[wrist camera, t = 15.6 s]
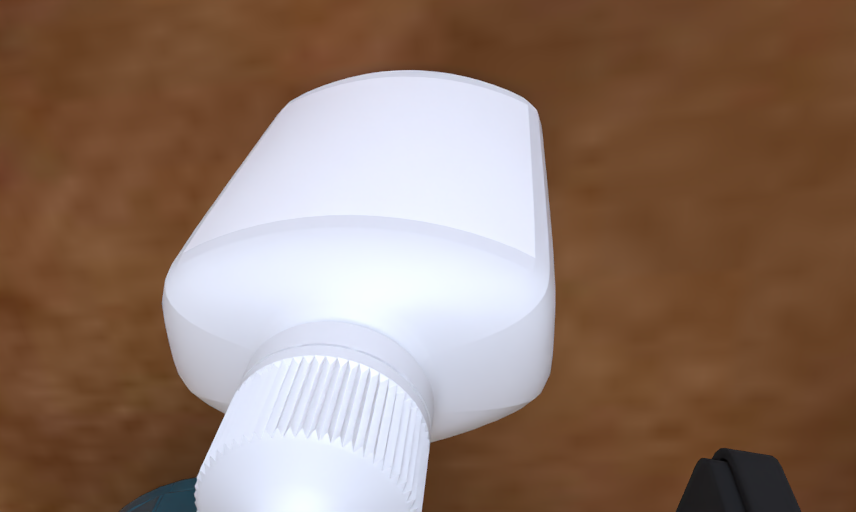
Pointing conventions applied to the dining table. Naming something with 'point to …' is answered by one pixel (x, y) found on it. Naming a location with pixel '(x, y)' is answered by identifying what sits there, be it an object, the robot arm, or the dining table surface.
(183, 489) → the pot
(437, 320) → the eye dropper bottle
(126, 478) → the dining table surface
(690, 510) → the robot arm
